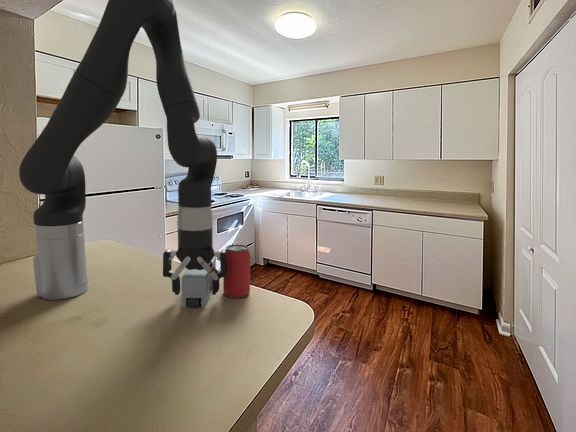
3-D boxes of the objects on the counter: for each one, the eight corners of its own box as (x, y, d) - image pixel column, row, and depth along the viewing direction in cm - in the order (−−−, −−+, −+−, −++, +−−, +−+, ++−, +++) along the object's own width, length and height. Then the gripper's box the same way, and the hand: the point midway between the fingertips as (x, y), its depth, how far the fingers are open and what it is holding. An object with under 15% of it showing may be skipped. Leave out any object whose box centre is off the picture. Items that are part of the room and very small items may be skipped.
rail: (187, 307, 71) (187, 299, 71) (201, 280, 87) (201, 273, 86) (198, 307, 71) (198, 299, 71) (210, 280, 87) (210, 273, 87)
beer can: (244, 300, 76) (245, 252, 74) (219, 297, 77) (219, 249, 75) (253, 289, 82) (254, 245, 80) (229, 286, 84) (229, 242, 81)
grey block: (182, 307, 71) (181, 278, 70) (188, 296, 77) (187, 268, 76) (205, 307, 72) (205, 278, 70) (209, 296, 77) (209, 269, 76)
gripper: (229, 222, 75) (228, 287, 78) (167, 221, 74) (169, 287, 77) (225, 229, 68) (225, 300, 71) (157, 228, 67) (159, 300, 70)
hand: (196, 293), depth 74 cm, fingers open, 8 cm apart
